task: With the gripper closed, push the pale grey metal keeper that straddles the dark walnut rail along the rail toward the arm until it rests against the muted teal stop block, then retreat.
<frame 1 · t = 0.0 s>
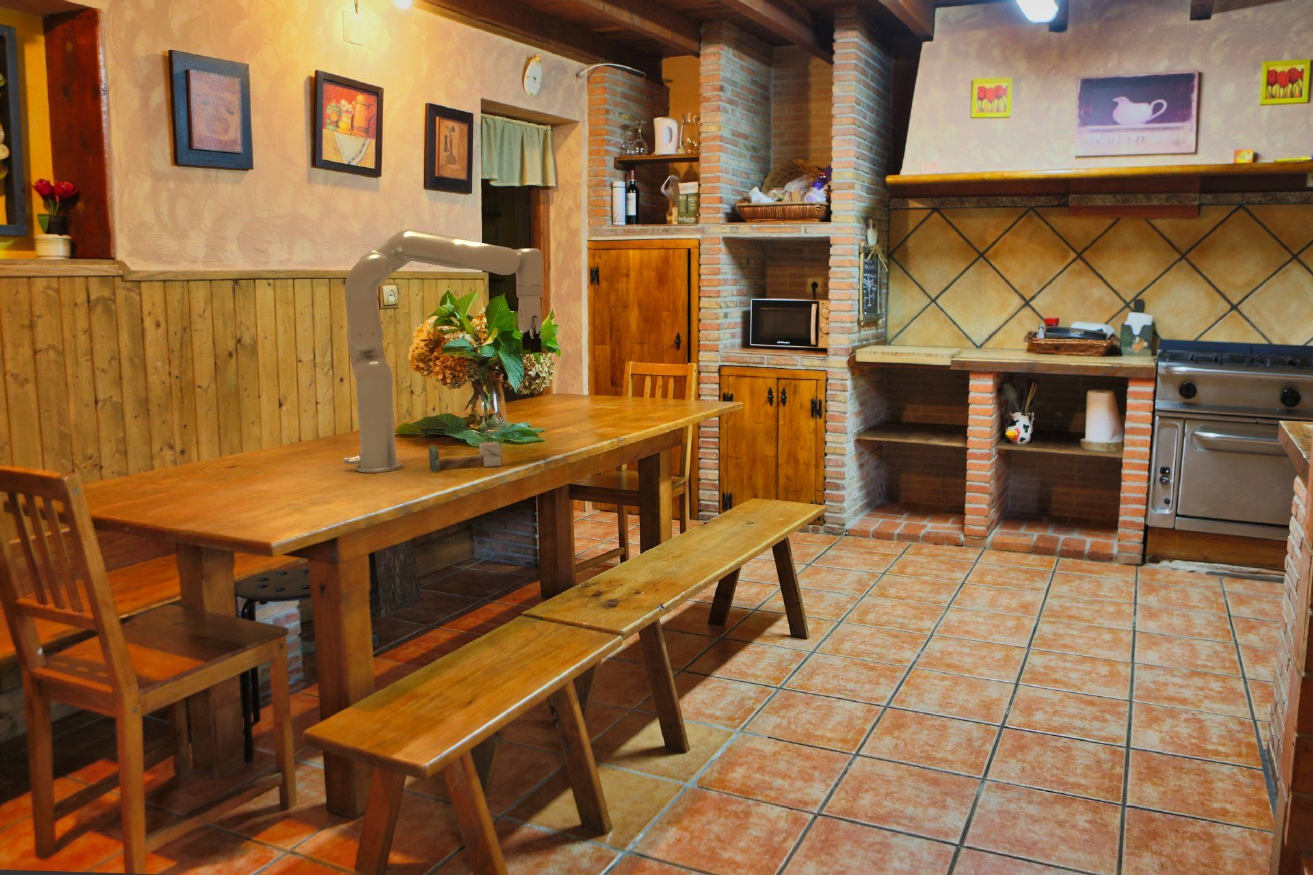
hand: (531, 351, 302), 31 cm above the table, fingers open, 9 cm apart
keeper: (490, 454, 294), point 3 cm above the table, slide at 0.0 cm
rail: (469, 466, 293), on the table
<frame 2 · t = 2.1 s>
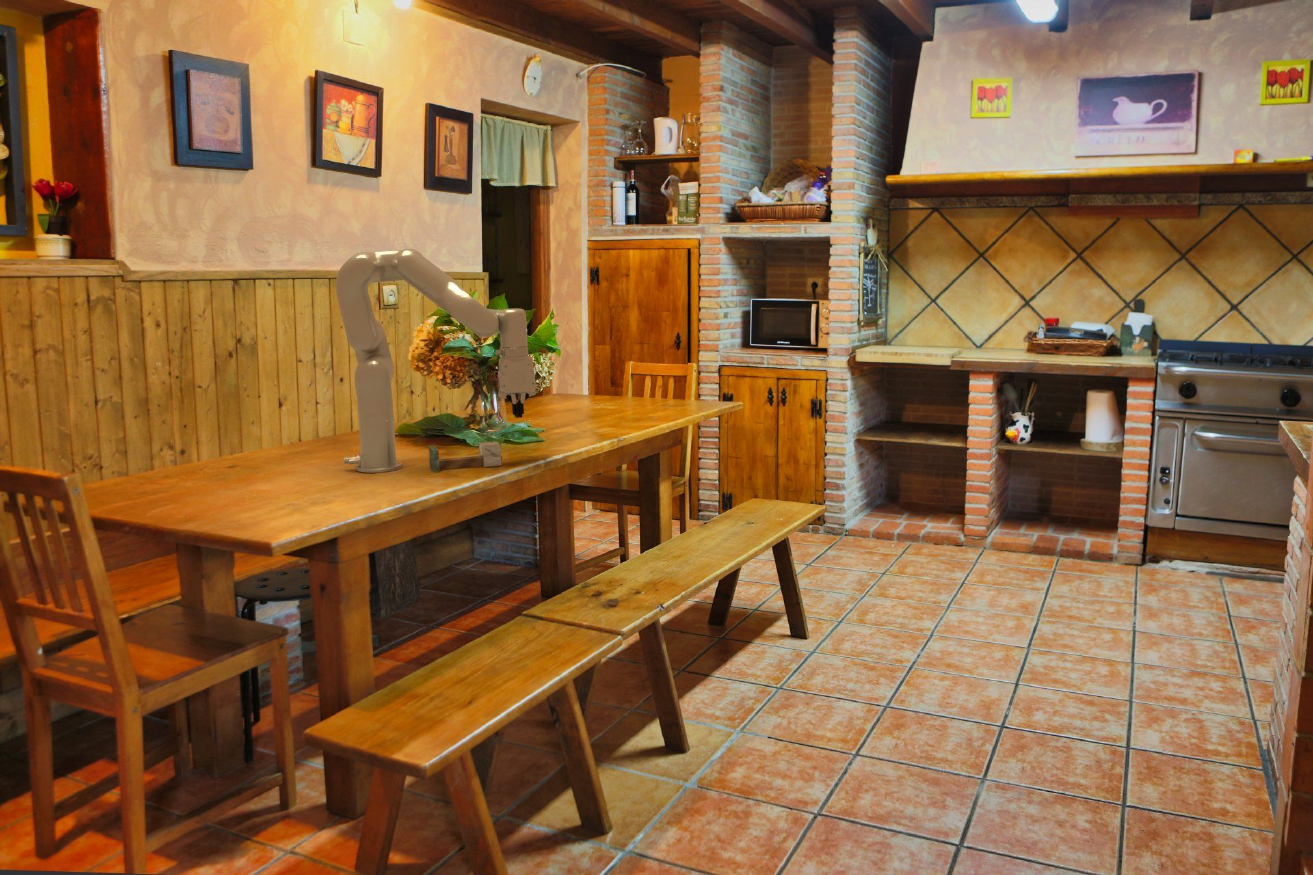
hand: (518, 416, 296), 13 cm above the table, fingers closed
nothing on the table moved.
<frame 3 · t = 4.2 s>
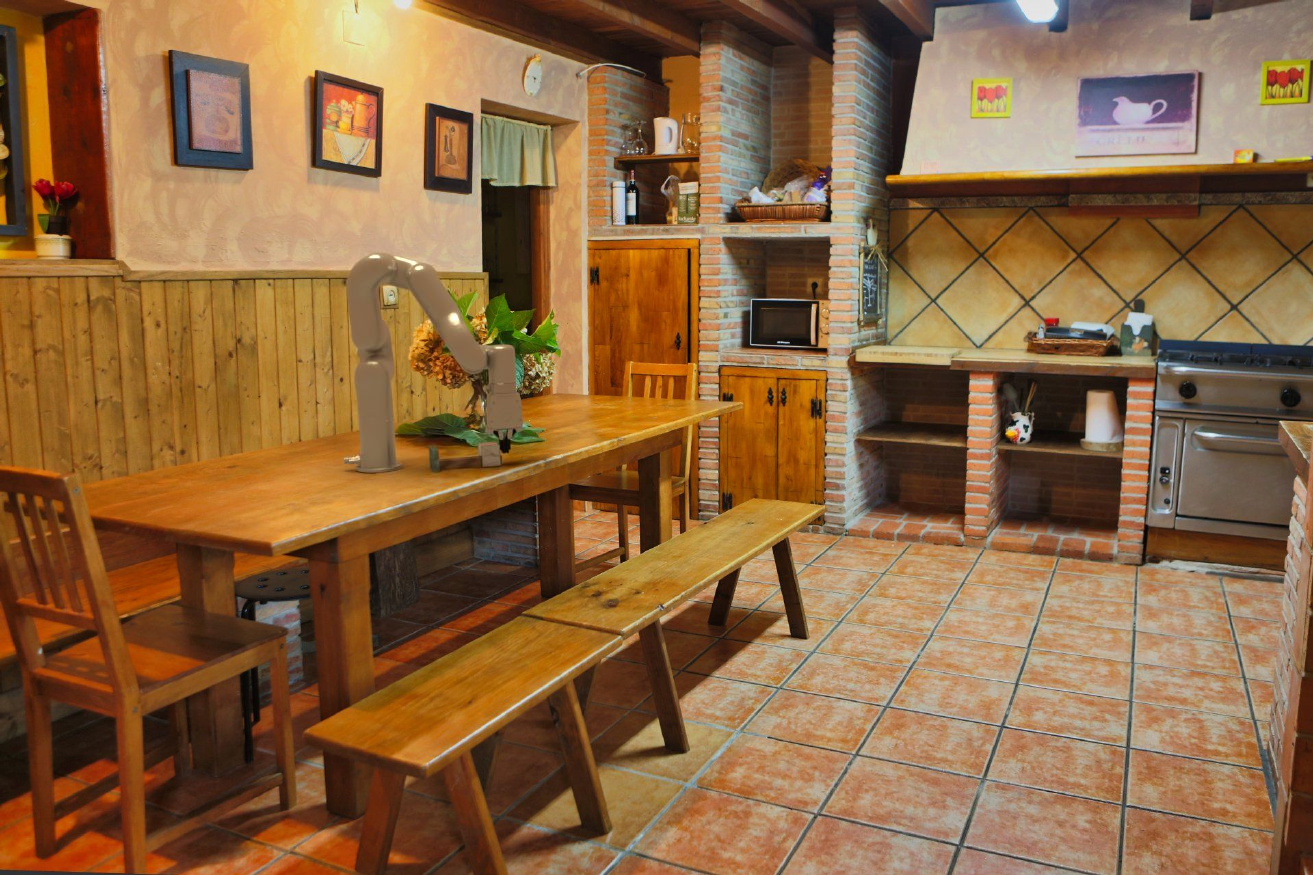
hand: (505, 452, 296), 3 cm above the table, fingers closed
keeper: (488, 454, 294), point 3 cm above the table, slide at 0.3 cm, touching gripper
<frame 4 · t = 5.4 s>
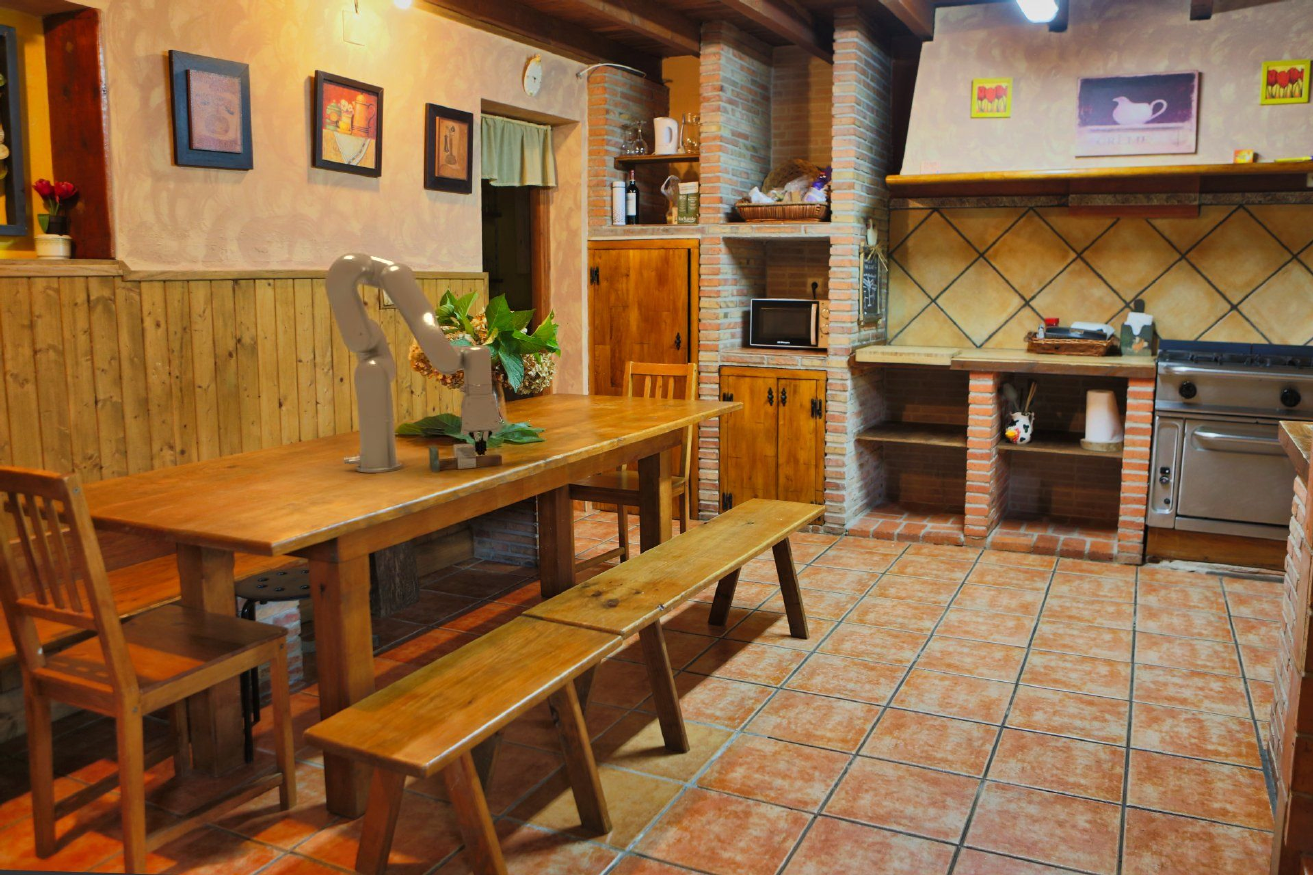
hand: (481, 454, 294), 3 cm above the table, fingers closed
keeper: (464, 456, 292), point 3 cm above the table, slide at 7.3 cm, touching gripper
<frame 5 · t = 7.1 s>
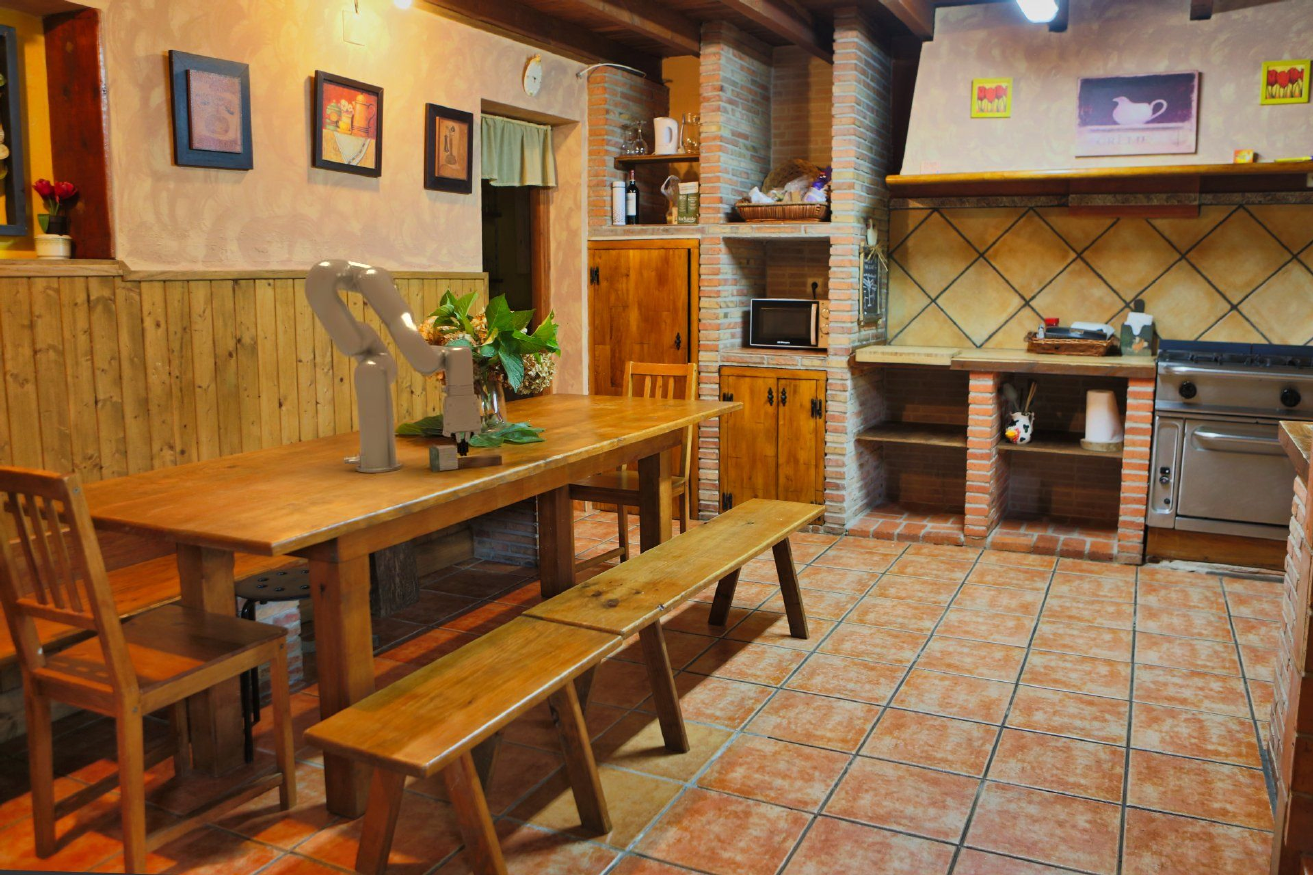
hand: (463, 455, 292), 3 cm above the table, fingers closed
keeper: (446, 457, 290), point 3 cm above the table, slide at 12.3 cm, touching gripper
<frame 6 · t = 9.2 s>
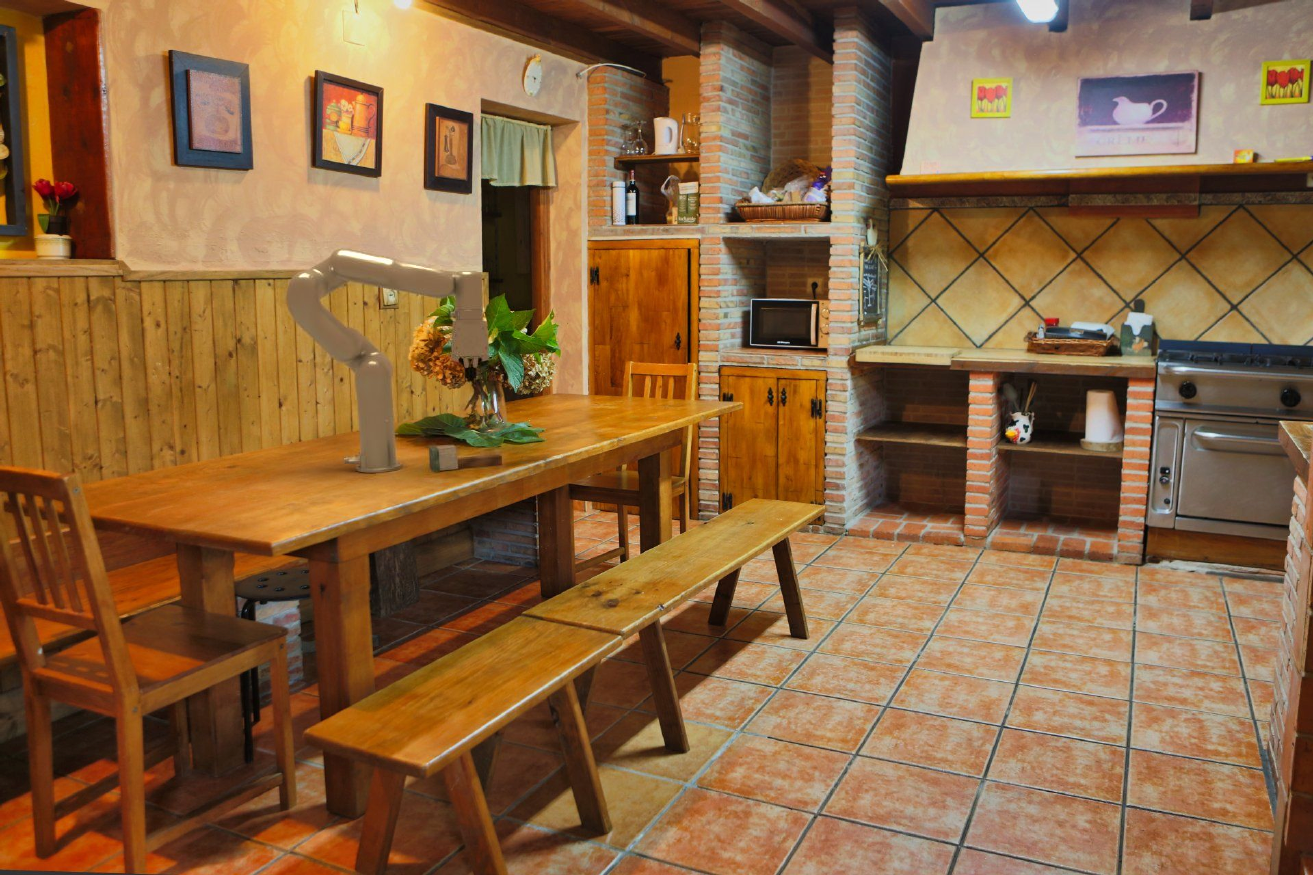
hand: (470, 381, 293), 24 cm above the table, fingers closed
keeper: (446, 457, 290), point 3 cm above the table, slide at 12.3 cm
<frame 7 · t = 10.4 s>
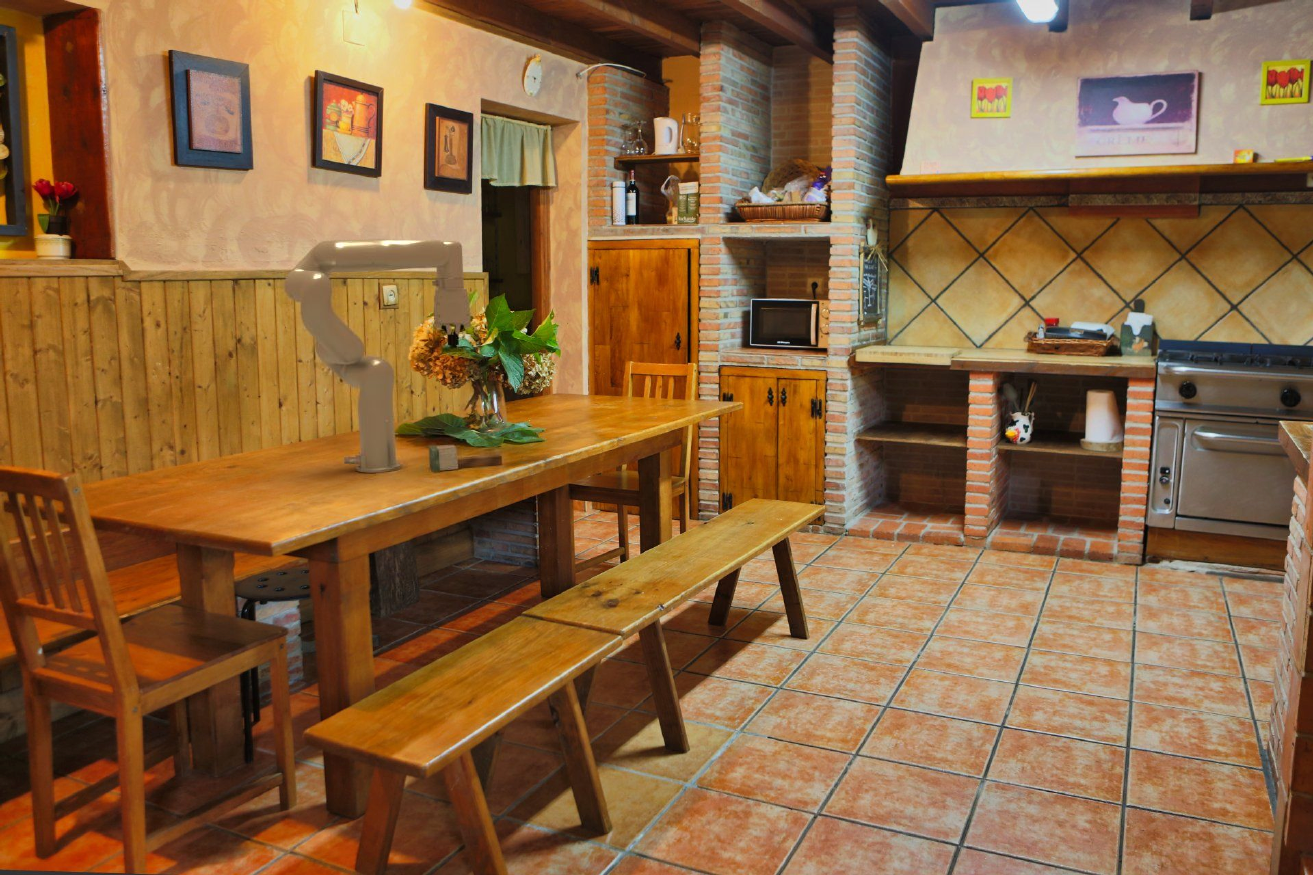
hand: (453, 347, 304), 32 cm above the table, fingers closed
nothing on the table moved.
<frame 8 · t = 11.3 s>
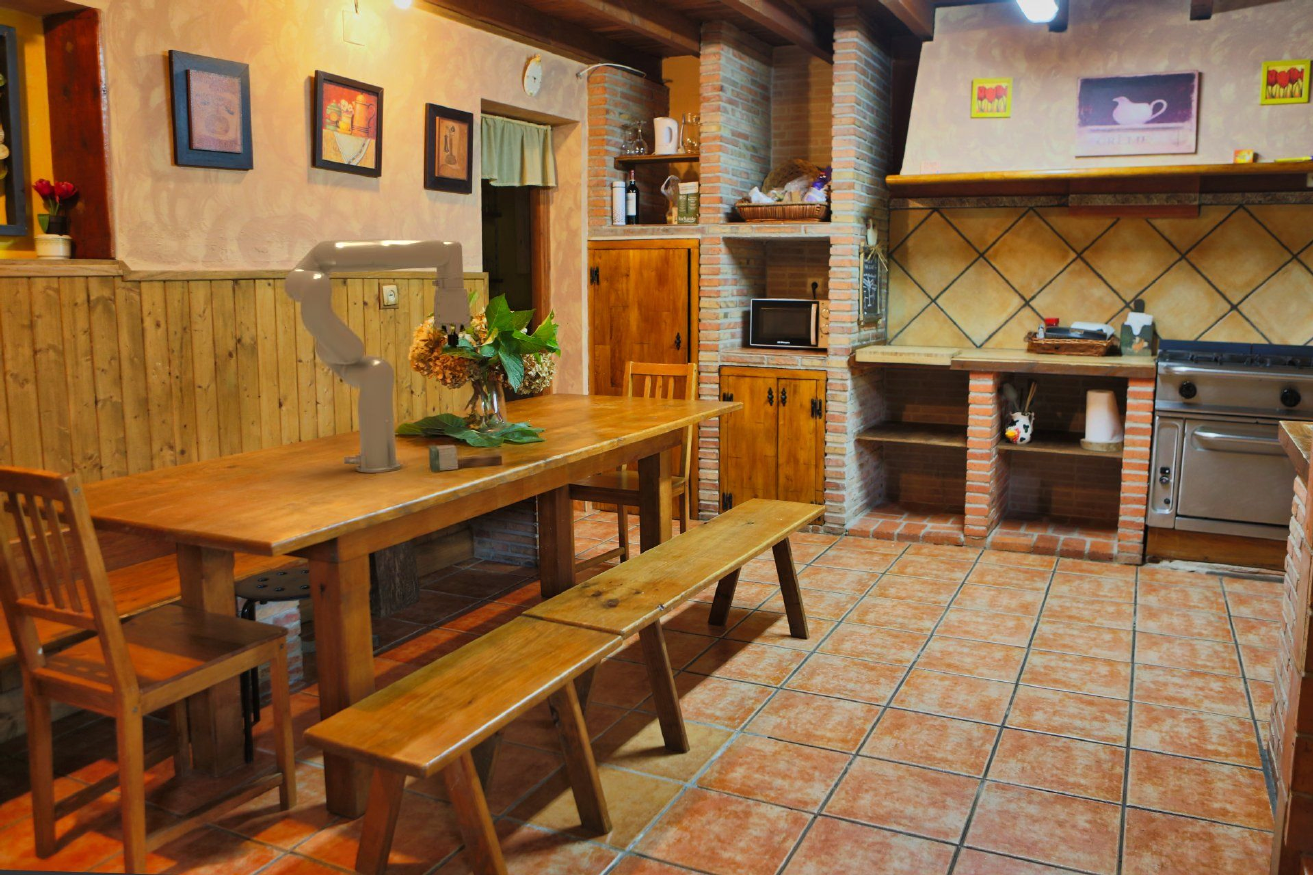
hand: (453, 347, 304), 32 cm above the table, fingers closed
nothing on the table moved.
at the end: keeper slide at 12.3 cm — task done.
